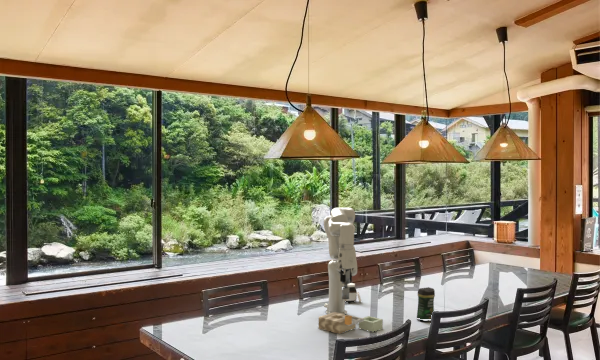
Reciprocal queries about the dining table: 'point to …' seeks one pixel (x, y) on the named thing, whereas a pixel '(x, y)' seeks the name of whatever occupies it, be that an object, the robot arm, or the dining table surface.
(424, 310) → the coffee jar
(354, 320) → the locking fork
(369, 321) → the pale green square tray
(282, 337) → the dining table surface
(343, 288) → the peg
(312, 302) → the dining table surface
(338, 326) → the socket block
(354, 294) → the spread jar
